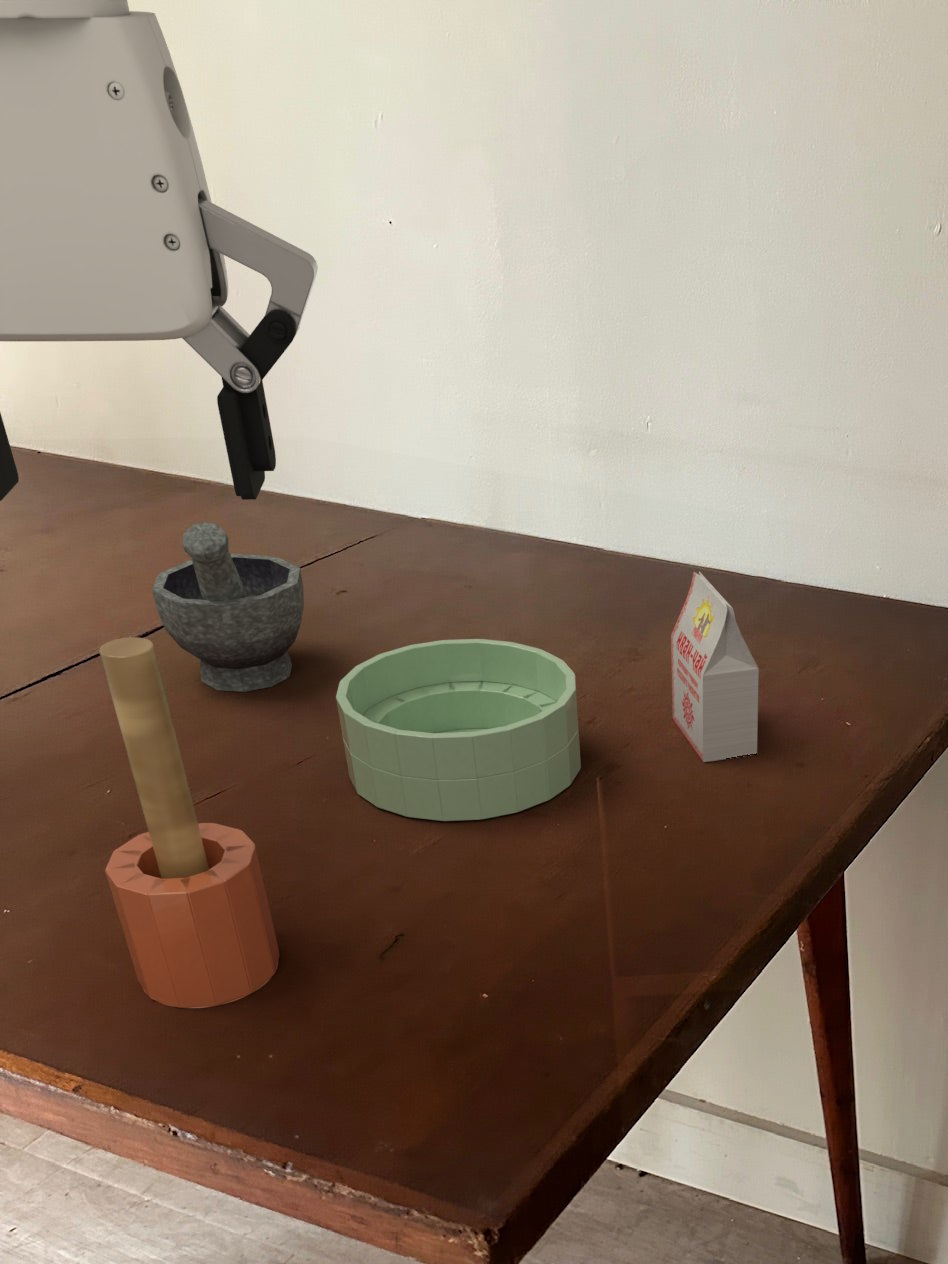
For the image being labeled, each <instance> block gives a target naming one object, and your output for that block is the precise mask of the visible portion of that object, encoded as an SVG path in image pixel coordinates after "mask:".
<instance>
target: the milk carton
mask: <svg viewBox="0 0 948 1264" xmlns="http://www.w3.org/2000/svg"><path fill="white" fill-rule="evenodd" d="M670 658H671V659H670V660H671V661H670V664H671V665H670V666H671V667H670V668H671V705H672V706H671V708H672V709H671V710H672V712H671V713H672V715H671V717H672V720H673V722H674V723H675V725H676V727H678V729H679V730H680V732H681V733H682V734H683V735H684V737H685V739H686V740H687V741H688V743H689V745H690V746H691V747H692V749H693V750H694V752H695V753H696V754H697V756H698V757H699V759H700V760H701V761H702V763H708V762H715V761H722V760H727V759H726V758H730V759H732V758H731V757H736V758H738V757H737V756H742V755H747V754H748V755H750V754H756V753H757V754H758V729H759V728H758V726H759V725H758V721H759V718H758V717H759V714H758V713H759V677H760V676H759V673H760V671H759V667H758V664H757V662H756V660H755V658H754V657H753V654H752V652H751V651H750V649H749V647H748V645H747V643H746V641H745V639H744V637H743V635H742V633H741V631H740V627H739V624H738V623H737V620H736V615H735V612H734V608H733V606H731V604H730V603H729V602H728V601H727V600H726V599H725V598H724V597H723V596H722V595H721V593H720V592H719V591H718V590H717V589H716V588H715V587H714V585H712V584H711V582H710V581H709V580H708V579H707V578H706V577H705V576H704V575H703V574H702V572H701V571H698V573H697V572H695V571H693V572H692V578H691V582H690V586H689V590H688V593H687V595H686V599H685V601H684V603H683V606H682V608H681V610H680V613H679V615H678V617H677V620H676V621H675V625H674V627H673V629H672V632H671V634H670ZM750 756H751V755H750Z"/></svg>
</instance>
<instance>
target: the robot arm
mask: <svg viewBox="0 0 948 1264" xmlns="http://www.w3.org/2000/svg"><path fill="white" fill-rule="evenodd" d="M225 257H227V258H229V259H231V260H233V261H235V262H237V263H239V264H241V265H243V266H245V267H247V268H249V269H251V270H253V271H255V272H256V273H259V274H261V275H262V276H264V277H265V278H266V279H267V281H268V282H269V283H270V286H271V293H270V297H269V302H268V304H267V307H266V310H265V314H264V316H263V318H261V320H260V321H259V322H258V324H257V325H256V326H255V328H254V329H253V330H252V331H251V333H249V332H247V330H246V329H244V327H243V326H242V325H241V324H240V323H239V322H238V321H237V320H236V319H235V318H234V317H233V316H232V315H231V314H230V313H229V312H228V311H227V310H226V309H225V308H223V307H224V305H225V304H226V303H227V300H228V299H229V279H228V272H227V265H226V259H225ZM317 274H318V263H317V260H316V258H314V256H313V255H311V253H310V252H307V251H305V250H304V249H302V248H299V247H298V246H296V245H295V244H293V243H291V242H288V241H286V240H284V239H282V238H280V237H279V236H278V235H275V234H272V233H271V232H269V231H267V230H265V229H263V228H262V227H259V226H257V225H255V224H253V223H251V222H250V221H247V220H245V219H244V218H242V217H241V216H238V215H237V214H234V213H232V212H230V211H228V210H226V209H225V208H222V207H221V206H219V205H217V204H214V203H213V202H212V198H211V194H210V190H209V186H208V182H207V177H206V174H205V169H204V165H203V162H202V157H201V153H200V150H199V146H198V143H197V139H196V134H195V131H194V127H193V123H192V120H191V117H190V114H189V110H188V107H187V103H186V99H185V96H184V93H183V88H182V86H181V83H180V79H179V76H178V73H177V71H176V67H175V64H174V62H173V59H172V55H171V53H170V50H169V46H168V44H167V42H166V39H165V36H164V34H163V30H162V28H161V26H160V23H159V21H158V18H157V15H156V13H155V12H151V11H141V10H140V11H139V10H137V11H136V10H135V11H133V10H130V6H129V1H128V0H0V342H139V341H144V342H145V341H167V340H178V339H182V340H183V341H184V342H186V343H187V344H188V346H189V347H191V348H192V349H193V350H194V351H195V352H196V354H197V355H198V356H200V357H201V358H202V360H204V361H205V362H206V363H207V364H208V365H209V366H210V367H211V368H212V369H213V370H214V371H215V372H216V373H217V374H218V375H219V376H220V378H221V382H222V388H221V390H219V393H218V395H217V396H216V404H217V409H218V413H219V418H220V423H221V429H222V434H223V439H224V444H225V449H226V454H227V458H228V463H229V468H230V473H231V474H230V475H231V478H232V484H233V489H234V493H235V496H236V497H240V498H241V500H257V498H258V496H259V495H260V492H261V489H262V487H263V485H264V483H265V480H266V472H274V471H275V469H276V467H277V466H276V465H277V456H276V449H275V448H276V447H275V443H274V437H273V432H272V426H271V421H270V415H269V410H268V404H267V398H266V393H265V387H264V381H263V380H264V378H265V377H266V376H267V375H268V374H269V372H270V371H271V369H272V368H273V367H274V365H275V364H277V362H278V361H279V360H280V358H281V357H282V355H283V354H284V353H285V352H286V350H288V348H289V347H290V345H291V344H292V342H293V341H294V340H295V337H296V335H297V334H298V331H299V329H300V328H301V327H300V326H301V323H302V320H303V317H304V315H305V314H304V313H305V311H306V309H307V305H308V303H309V299H310V296H311V292H312V290H313V287H314V284H315V281H316V278H317ZM13 454H14V453H13V451H12V448H11V445H10V441H9V437H8V434H7V430H6V427H5V423H4V419H3V416H2V413H1V412H0V502H1V501H2V500H3V499H5V497H6V496H8V494H9V493H10V492H11V491H12V490H13V488H14V487H16V485H17V484H18V483H19V479H20V478H19V472H18V469H17V465H16V461H15V458H14V455H13Z"/></svg>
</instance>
